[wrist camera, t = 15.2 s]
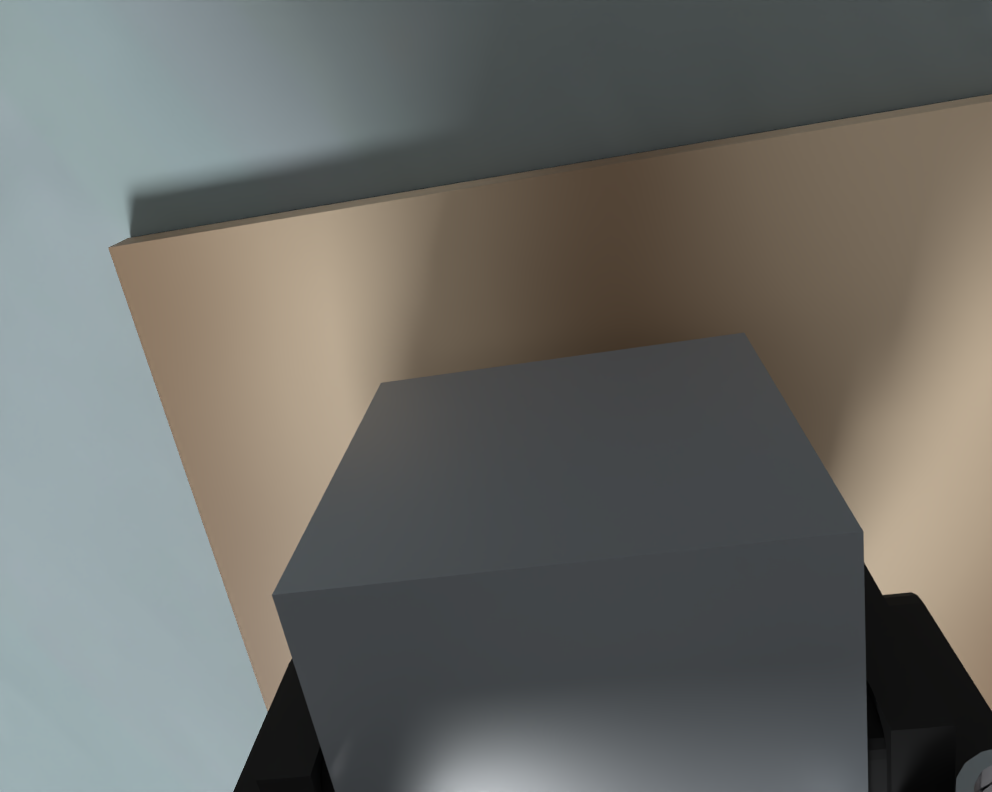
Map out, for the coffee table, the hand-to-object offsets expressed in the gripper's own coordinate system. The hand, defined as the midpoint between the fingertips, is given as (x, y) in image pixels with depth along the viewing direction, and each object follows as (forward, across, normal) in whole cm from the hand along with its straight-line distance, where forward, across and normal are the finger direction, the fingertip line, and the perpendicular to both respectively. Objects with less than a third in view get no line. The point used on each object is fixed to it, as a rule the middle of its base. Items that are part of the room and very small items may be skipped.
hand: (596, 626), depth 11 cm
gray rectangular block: (+1, 0, 0) cm, 1 cm away
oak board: (+3, 0, 0) cm, 3 cm away
